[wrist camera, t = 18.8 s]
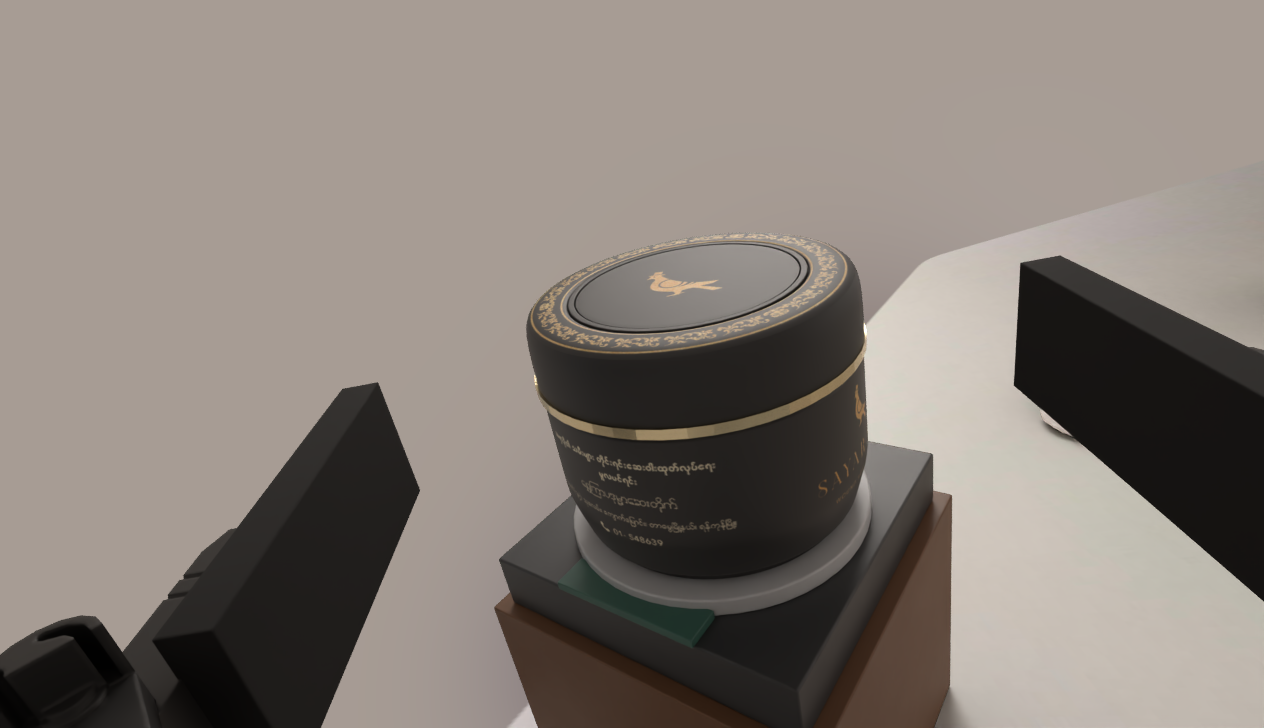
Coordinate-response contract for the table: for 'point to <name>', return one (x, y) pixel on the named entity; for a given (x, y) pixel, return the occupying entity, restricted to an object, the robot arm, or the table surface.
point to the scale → (744, 622)
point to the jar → (708, 398)
